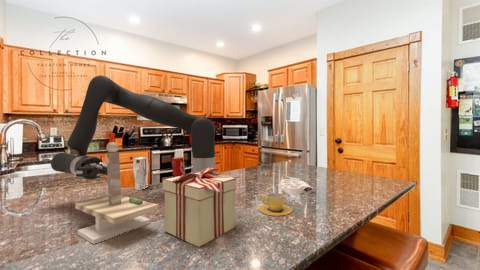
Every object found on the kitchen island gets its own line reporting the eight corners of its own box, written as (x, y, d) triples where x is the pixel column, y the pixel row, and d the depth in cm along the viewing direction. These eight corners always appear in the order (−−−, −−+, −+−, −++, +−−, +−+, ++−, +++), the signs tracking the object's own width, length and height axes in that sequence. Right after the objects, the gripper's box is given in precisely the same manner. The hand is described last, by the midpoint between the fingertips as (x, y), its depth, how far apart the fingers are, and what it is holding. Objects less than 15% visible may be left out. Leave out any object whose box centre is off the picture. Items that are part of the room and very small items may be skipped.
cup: (294, 206, 86) (293, 192, 86) (290, 218, 75) (290, 202, 75) (262, 203, 90) (262, 189, 90) (254, 214, 79) (254, 198, 78)
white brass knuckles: (316, 195, 100) (282, 196, 100) (303, 185, 118) (274, 185, 118) (316, 187, 100) (282, 188, 100) (303, 178, 118) (274, 179, 118)
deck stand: (77, 234, 65) (77, 215, 65) (132, 216, 78) (132, 200, 78) (93, 244, 59) (93, 224, 59) (150, 223, 72) (149, 206, 72)
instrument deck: (75, 208, 70) (72, 143, 70) (115, 198, 80) (113, 141, 80) (114, 224, 56) (111, 143, 56) (158, 209, 66) (155, 140, 66)
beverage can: (182, 189, 110) (182, 158, 110) (170, 189, 112) (169, 158, 111) (187, 186, 116) (187, 156, 116) (175, 186, 118) (175, 156, 117)
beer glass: (136, 187, 116) (135, 157, 116) (150, 186, 117) (150, 156, 116) (131, 190, 109) (130, 159, 109) (146, 190, 110) (145, 158, 109)
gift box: (212, 253, 55) (211, 180, 54) (159, 234, 64) (158, 172, 64) (248, 226, 69) (248, 168, 68) (201, 214, 79) (200, 163, 78)
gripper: (63, 158, 73) (86, 161, 63) (107, 154, 84) (132, 156, 74) (64, 181, 74) (87, 189, 63) (107, 174, 84) (133, 180, 74)
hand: (111, 171), depth 69 cm, fingers closed
